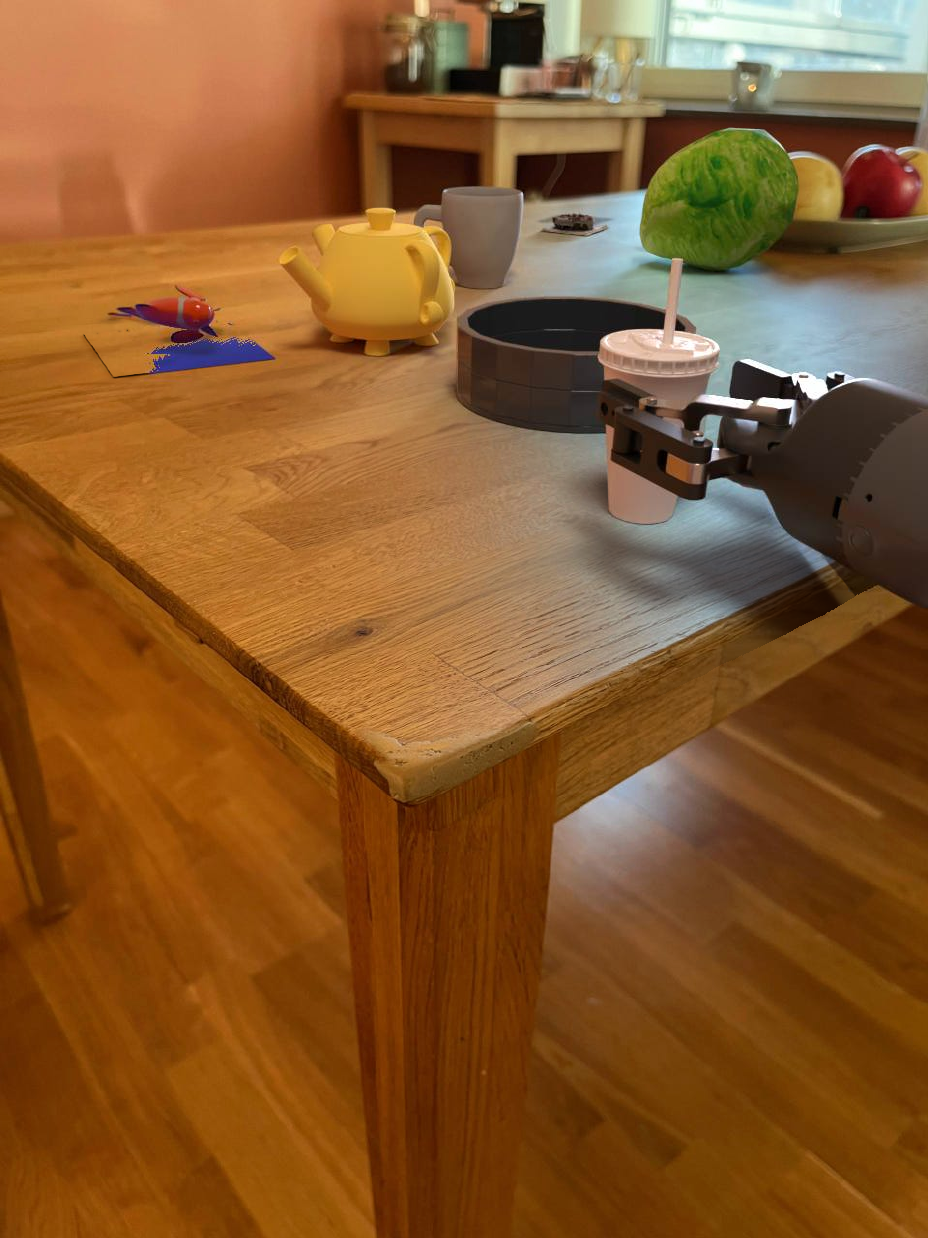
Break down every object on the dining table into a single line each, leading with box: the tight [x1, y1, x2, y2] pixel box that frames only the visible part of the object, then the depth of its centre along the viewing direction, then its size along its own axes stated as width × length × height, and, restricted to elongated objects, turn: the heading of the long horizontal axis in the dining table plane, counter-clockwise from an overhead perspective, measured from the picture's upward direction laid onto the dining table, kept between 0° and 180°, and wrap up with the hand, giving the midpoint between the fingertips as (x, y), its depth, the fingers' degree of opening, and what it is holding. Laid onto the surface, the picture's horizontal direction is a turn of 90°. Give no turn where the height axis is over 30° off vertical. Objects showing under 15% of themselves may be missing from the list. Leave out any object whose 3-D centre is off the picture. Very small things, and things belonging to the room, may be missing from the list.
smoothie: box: [598, 258, 721, 525], centre depth 53 cm, size 6×6×14 cm
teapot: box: [278, 207, 456, 357], centre depth 86 cm, size 14×14×11 cm
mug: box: [413, 185, 524, 290], centre depth 109 cm, size 12×9×10 cm
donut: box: [540, 212, 610, 237], centre depth 144 cm, size 8×8×2 cm
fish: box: [107, 284, 221, 344], centre depth 85 cm, size 13×5×9 cm
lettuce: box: [638, 127, 800, 271], centre depth 118 cm, size 17×20×17 cm
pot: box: [455, 295, 697, 434], centre depth 75 cm, size 18×18×6 cm
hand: (672, 387), depth 52 cm, fingers open, 8 cm apart
